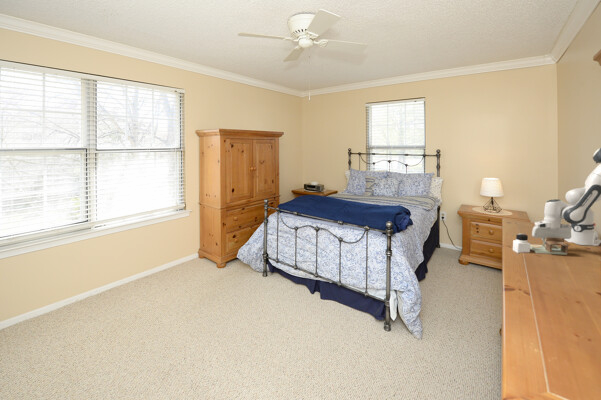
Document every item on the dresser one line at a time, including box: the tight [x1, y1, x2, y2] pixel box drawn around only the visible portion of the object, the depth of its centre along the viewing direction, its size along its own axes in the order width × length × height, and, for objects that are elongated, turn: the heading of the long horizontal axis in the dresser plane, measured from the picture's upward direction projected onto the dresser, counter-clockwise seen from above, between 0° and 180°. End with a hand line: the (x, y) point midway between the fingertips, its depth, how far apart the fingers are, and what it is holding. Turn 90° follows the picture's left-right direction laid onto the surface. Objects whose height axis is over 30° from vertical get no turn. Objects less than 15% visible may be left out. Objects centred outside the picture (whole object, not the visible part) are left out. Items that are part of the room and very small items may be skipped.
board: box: [530, 243, 568, 256], centre depth 198 cm, size 16×15×3 cm
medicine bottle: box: [512, 233, 531, 254], centre depth 199 cm, size 7×7×12 cm
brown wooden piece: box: [545, 237, 569, 254], centre depth 190 cm, size 9×7×8 cm
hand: (550, 244), depth 199 cm, fingers open, 5 cm apart
